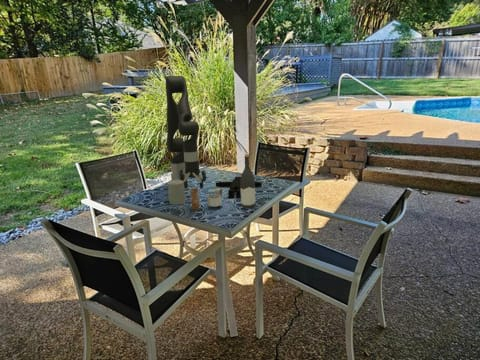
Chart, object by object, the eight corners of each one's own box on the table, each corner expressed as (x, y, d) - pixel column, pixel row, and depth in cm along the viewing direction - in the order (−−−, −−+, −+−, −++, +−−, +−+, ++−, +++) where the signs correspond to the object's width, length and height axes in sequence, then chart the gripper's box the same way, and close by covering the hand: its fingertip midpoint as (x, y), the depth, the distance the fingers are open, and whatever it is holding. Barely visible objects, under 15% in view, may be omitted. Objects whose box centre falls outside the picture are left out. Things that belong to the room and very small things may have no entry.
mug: (206, 209, 176) (205, 196, 173) (213, 200, 188) (212, 187, 185) (219, 210, 174) (218, 196, 171) (225, 201, 186) (225, 188, 184)
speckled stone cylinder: (166, 201, 190) (164, 181, 186) (181, 197, 195) (179, 178, 191) (173, 205, 182) (171, 185, 178) (188, 201, 188) (186, 182, 184)
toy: (209, 190, 190) (218, 175, 219) (210, 198, 192) (218, 182, 220) (260, 190, 187) (262, 175, 216) (260, 199, 189) (262, 182, 217)
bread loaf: (191, 210, 176) (189, 190, 172) (193, 207, 179) (191, 187, 175) (197, 210, 175) (196, 190, 171) (200, 207, 178) (198, 187, 175)
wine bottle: (253, 201, 184) (252, 151, 175) (256, 207, 176) (255, 155, 167) (240, 203, 183) (238, 152, 173) (242, 208, 175) (240, 156, 166)
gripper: (176, 160, 166) (179, 189, 171) (201, 161, 163) (204, 191, 168) (181, 157, 173) (184, 185, 178) (206, 158, 170) (208, 186, 175)
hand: (194, 188), depth 173 cm, fingers open, 8 cm apart
